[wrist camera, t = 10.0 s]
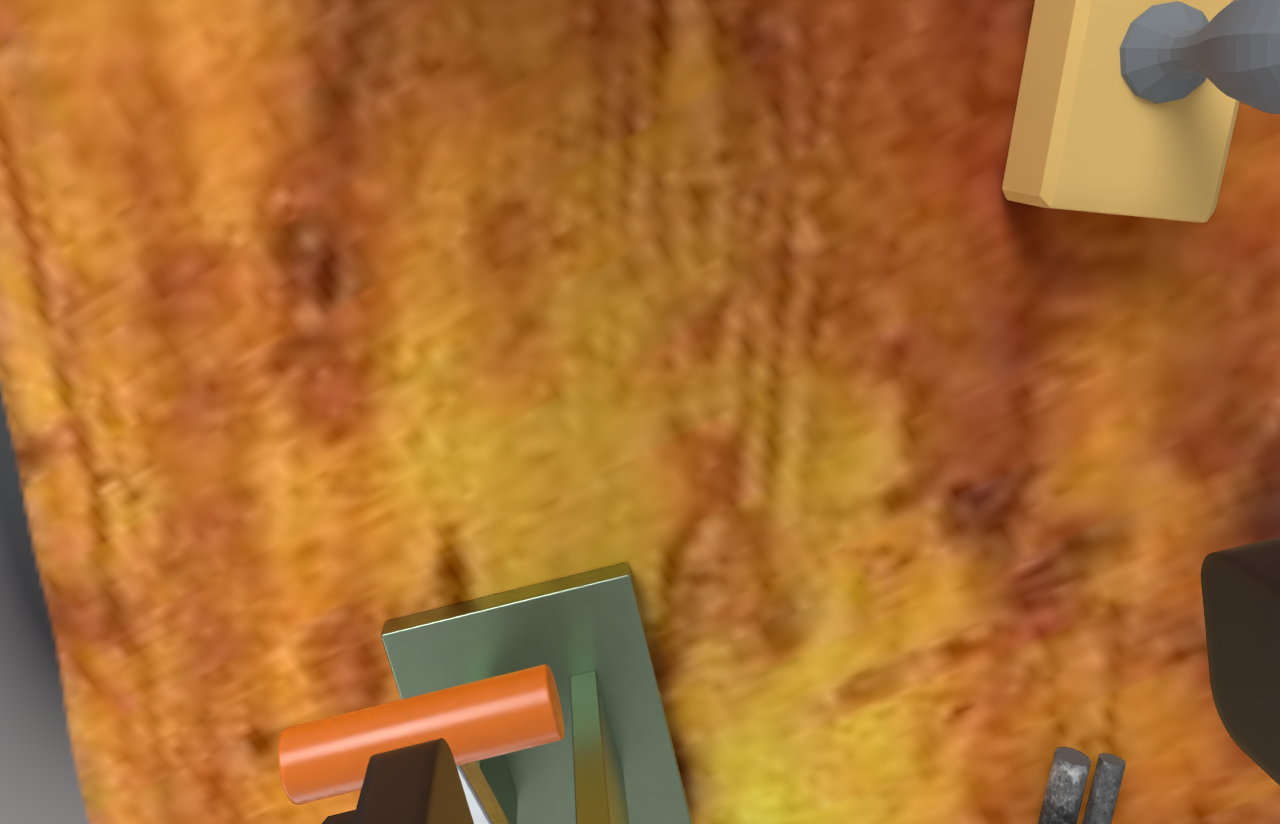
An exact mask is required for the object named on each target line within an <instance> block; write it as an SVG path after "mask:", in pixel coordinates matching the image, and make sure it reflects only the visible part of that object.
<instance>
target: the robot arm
mask: <svg viewBox="0 0 1280 824" xmlns="http://www.w3.org/2000/svg"><path fill="white" fill-rule="evenodd" d="M1201 584H1202V595H1203V605H1204V616H1205V627H1206V638H1207V649H1208V660H1209V671H1210V682H1211V690H1212V695H1213V699H1214V702H1215V705H1216V708H1217V711H1218V714H1219V716H1220V718H1221V720H1222V722H1223V724H1224V726H1225V728H1226V730H1227V732H1228V733H1229V735H1230V736H1231V738H1232V739H1233V740H1234V742H1235V743H1236V744H1237V745H1238V746H1239V748H1240V749H1241V750H1242V751H1243V752H1245V753H1246V754H1247V755H1248V756H1249V757H1250V758H1251V759H1252V760H1253V761H1254V762H1255V763H1256V764H1257V765H1258V766H1260V767H1261V768H1262V769H1263V770H1264V771H1265V772H1266V773H1267V774H1268V775H1269V776H1270V777H1271V778H1272V779H1273V780H1275V781H1276V782H1277V783H1278V784H1279V785H1280V537H1275V538H1271V539H1267V540H1263V541H1259V542H1255V543H1251V544H1247V545H1243V546H1238V547H1234V548H1230V549H1226V550H1222V551H1218V552H1214V553H1211V554H1209V555H1207V556H1206V558H1205V559H1204V561H1203V564H1202V569H1201ZM322 824H474V821H473V818H472V815H471V812H470V808H469V805H468V802H467V799H466V795H465V792H464V789H463V786H462V782H461V779H460V776H459V773H458V769H457V766H456V763H455V760H454V757H453V754H452V752H451V749H450V747H449V745H448V743H447V742H446V740H445V739H443V738H440V739H436V740H432V741H428V742H423V743H419V744H415V745H411V746H407V747H403V748H399V749H395V750H390V751H386V752H382V753H378V754H374V755H372V756H371V758H370V760H369V763H368V766H367V770H366V774H365V778H364V782H363V785H362V789H361V793H360V797H359V801H358V804H357V808H356V810H353V811H348V812H344V813H340V814H336V815H332V816H328V817H327V818H326V819H325V821H324V822H323V823H322Z"/></svg>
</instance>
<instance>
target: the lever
mask: <svg viewBox="0 0 1280 824" xmlns="http://www.w3.org/2000/svg"><path fill="white" fill-rule="evenodd" d="M564 733H565V731H564V721H563V714H562V709H561V703H560V699H559V694H558V690H557V686H556V683H555V679H554V676H553V673H552V671H551V669H550V667H549V666H548V665H546V664H544V665H540V666H536V667H532V668H528V669H524V670H520V671H516V672H512V673H508V674H504V675H500V676H495V677H491V678H487V679H483V680H479V681H475V682H471V683H467V684H463V685H459V686H455V687H451V688H447V689H443V690H438V691H434V692H430V693H426V694H422V695H418V696H414V697H410V698H406V699H402V700H398V701H394V702H390V703H386V704H381V705H377V706H373V707H369V708H365V709H361V710H357V711H353V712H349V713H345V714H341V715H337V716H333V717H329V718H325V719H320V720H316V721H312V722H308V723H304V724H300V725H296V726H292V727H288V728H286V729H284V730H283V731H282V733H281V735H280V738H279V743H278V764H279V771H280V776H281V780H282V784H283V787H284V789H285V792H286V794H287V796H288V797H289V799H290V800H291V801H292V802H293V803H294V804H297V805H301V804H305V803H309V802H313V801H317V800H321V799H325V798H329V797H333V796H337V795H341V794H345V793H349V792H353V791H357V790H361V789H362V785H363V782H364V778H365V774H366V770H367V766H368V763H369V760H370V758H371V756H372V755H374V754H378V753H382V752H386V751H390V750H395V749H399V748H403V747H407V746H411V745H415V744H419V743H423V742H428V741H432V740H436V739H440V738H443V739H445V740H446V742H447V743H448V745H449V747H450V749H451V752H452V754H453V757H454V760H455V763H456V766H457V769H458V773H459V776H460V779H461V782H462V786H463V789H464V792H465V795H466V799H467V802H468V805H469V808H470V812H471V815H472V818H473V821H474V824H509V822H508V820H507V818H506V816H505V814H504V812H503V810H502V809H501V807H500V805H499V803H498V801H497V799H496V797H495V796H494V794H493V792H492V790H491V788H490V786H489V784H488V782H487V781H486V779H485V777H484V775H483V773H482V771H481V769H480V768H479V766H478V764H477V762H476V761H479V760H483V759H487V758H491V757H495V756H499V755H503V754H507V753H511V752H515V751H519V750H523V749H527V748H532V747H536V746H540V745H544V744H548V743H552V742H556V741H560V740H562V739H563V738H564Z"/></svg>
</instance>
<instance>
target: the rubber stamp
mask: <svg viewBox="0 0 1280 824" xmlns="http://www.w3.org/2000/svg"><path fill="white" fill-rule="evenodd" d="M1239 102H1242V103H1244V104H1247V105H1249V106H1251V107H1254V108H1256V109H1258V110H1261V111H1263V112H1267V113H1271V114H1280V0H1035V4H1034V10H1033V15H1032V21H1031V27H1030V32H1029V38H1028V44H1027V50H1026V55H1025V61H1024V67H1023V72H1022V78H1021V84H1020V89H1019V95H1018V101H1017V107H1016V112H1015V118H1014V124H1013V129H1012V135H1011V141H1010V147H1009V152H1008V158H1007V164H1006V169H1005V175H1004V181H1003V187H1002V190H1003V192H1004V195H1005V197H1006V199H1007V200H1010V201H1014V202H1019V203H1024V204H1029V205H1034V206H1039V207H1043V208H1053V209H1063V210H1074V211H1084V212H1094V213H1105V214H1115V215H1126V216H1136V217H1146V218H1157V219H1167V220H1178V221H1188V222H1207V220H1208V219H1209V218H1210V217H1211V215H1212V214H1213V213H1214V211H1215V208H1216V205H1217V201H1218V196H1219V192H1220V187H1221V183H1222V178H1223V174H1224V170H1225V165H1226V161H1227V156H1228V152H1229V147H1230V143H1231V138H1232V134H1233V129H1234V125H1235V120H1236V116H1237V111H1238V107H1239Z"/></svg>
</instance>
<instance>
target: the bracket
mask: <svg viewBox="0 0 1280 824" xmlns="http://www.w3.org/2000/svg"><path fill="white" fill-rule="evenodd" d="M381 638H382V641H383V644H384V647H385V650H386V653H387V657H388V660H389V663H390V666H391V669H392V672H393V675H394V678H395V682H396V685H397V688H398V691H399V694H400V697H401V700H402V699H406V698H410V697H414V696H418V695H422V694H426V693H430V692H434V691H438V690H443V689H447V688H451V687H455V686H459V685H463V684H467V683H471V682H475V681H479V680H483V679H487V678H491V677H495V676H500V675H504V674H508V673H512V672H516V671H520V670H524V669H528V668H532V667H536V666H540V665H544V664H546V665H548V666H549V667H550V669H551V671H552V673H553V676H554V679H555V683H556V686H557V690H558V694H559V699H560V703H561V709H562V714H563V721H564V731H565V733H564V738H563V739H562V740H560V741H556V742H552V743H548V744H544V745H540V746H536V747H532V748H527V749H523V750H519V751H515V752H511V753H507V754H503V755H499V756H495V757H491V758H487V759H483V760H479V761H476V762H477V764H478V766H479V768H480V769H481V771H482V773H483V775H484V777H485V779H486V781H487V782H488V784H489V786H490V788H491V790H492V792H493V794H494V796H495V797H496V799H497V801H498V803H499V805H500V807H501V809H502V810H503V812H504V814H505V816H506V818H507V820H508V822H509V824H692V819H691V814H690V810H689V806H688V802H687V798H686V794H685V790H684V786H683V782H682V778H681V774H680V770H679V766H678V762H677V758H676V754H675V750H674V746H673V742H672V738H671V734H670V730H669V726H668V722H667V718H666V714H665V710H664V706H663V702H662V698H661V694H660V690H659V686H658V682H657V678H656V674H655V670H654V666H653V662H652V658H651V654H650V650H649V646H648V642H647V638H646V634H645V630H644V626H643V622H642V618H641V614H640V610H639V606H638V602H637V598H636V594H635V590H634V586H633V582H632V578H631V574H630V569H629V565H628V563H621V564H617V565H613V566H609V567H605V568H601V569H597V570H592V571H588V572H584V573H580V574H576V575H572V576H568V577H564V578H560V579H556V580H552V581H547V582H543V583H539V584H535V585H531V586H527V587H523V588H519V589H515V590H511V591H507V592H502V593H498V594H494V595H490V596H486V597H482V598H478V599H474V600H470V601H466V602H462V603H457V604H453V605H449V606H445V607H441V608H437V609H433V610H429V611H425V612H421V613H416V614H412V615H408V616H404V617H400V618H396V619H392V620H388V621H386V622H385V624H384V627H383V630H382V634H381Z"/></svg>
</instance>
